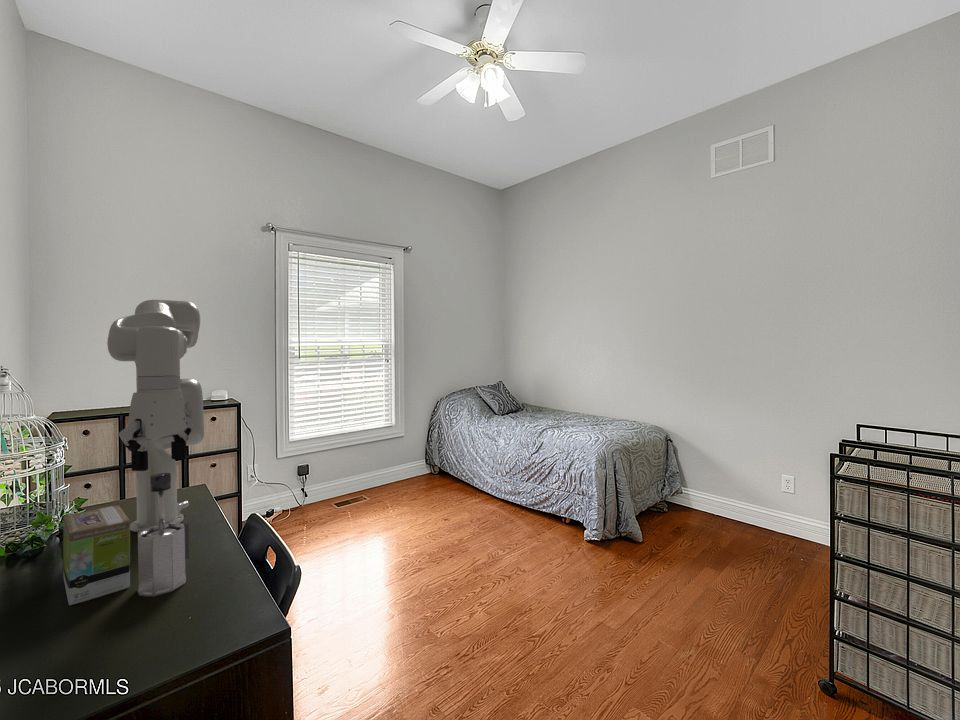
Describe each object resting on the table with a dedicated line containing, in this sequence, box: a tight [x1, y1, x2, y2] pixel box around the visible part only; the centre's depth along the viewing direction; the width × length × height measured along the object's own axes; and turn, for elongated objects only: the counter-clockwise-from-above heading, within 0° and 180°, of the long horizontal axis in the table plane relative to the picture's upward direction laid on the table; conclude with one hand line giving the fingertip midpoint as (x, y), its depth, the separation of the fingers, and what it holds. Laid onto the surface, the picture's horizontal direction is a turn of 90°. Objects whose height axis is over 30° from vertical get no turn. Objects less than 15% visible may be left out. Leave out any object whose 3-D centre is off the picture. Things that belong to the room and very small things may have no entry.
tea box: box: [62, 504, 131, 606], centre depth 94 cm, size 15×10×15 cm, turn 47°
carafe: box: [137, 522, 190, 598], centre depth 95 cm, size 11×8×12 cm
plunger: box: [146, 473, 177, 538], centre depth 93 cm, size 5×5×13 cm
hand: (160, 464), depth 93 cm, fingers open, 9 cm apart
